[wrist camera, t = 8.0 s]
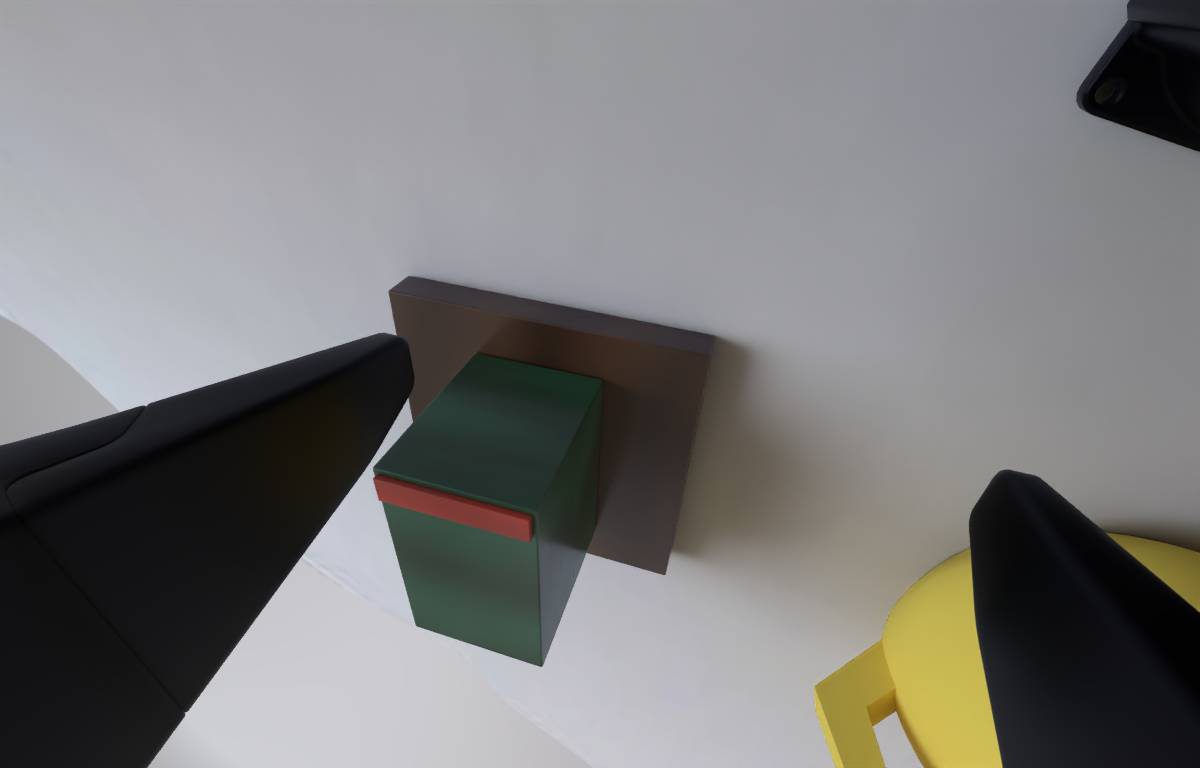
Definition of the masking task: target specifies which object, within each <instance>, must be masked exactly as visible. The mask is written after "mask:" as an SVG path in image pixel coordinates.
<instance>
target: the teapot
mask: <svg viewBox="0 0 1200 768" xmlns="http://www.w3.org/2000/svg"><path fill="white" fill-rule="evenodd" d="M1105 533H1106V532H1105ZM1106 534H1107V535H1109V536H1110V537H1111V538H1112V539H1113V540H1115V541H1116V542H1117V543H1118V544H1119V545H1121V546H1122V547H1123V548H1124V549H1125V550H1126V551H1128V552H1129V553H1130V554H1131V555H1132V556H1134V557H1135V558H1136V559H1137V560H1138V561H1140V562H1141V563H1142V564H1143V565H1144V566H1146V567H1147V568H1148V569H1149V570H1150V571H1151V572H1153V573H1154V574H1155V575H1156V576H1157V577H1159V578H1160V579H1161V580H1162V581H1163V582H1165V583H1166V584H1167V585H1168V586H1169V587H1170V588H1172V589H1173V590H1174V591H1175V592H1176V593H1178V594H1179V595H1180V596H1181V597H1182V598H1184V599H1185V600H1186V601H1187V602H1188V603H1190V604H1191V605H1192V606H1193V607H1194V608H1195V609H1197V610H1198V611H1199V612H1200V553H1199V552H1195V551H1192V550H1189V549H1185V548H1182V547H1178V546H1175V545H1171V544H1167V543H1162V542H1157V541H1153V540H1149V539H1144V538H1139V537H1135V536H1129V535H1122V534H1114V533H1106ZM814 690H815V711H816V714H817V716H818V719H819V722H820V725H821V728H822V731H823V733H824V736H825V739H826V742H827V745H828V748H829V750H830V753H831V756H832V759H833V762H834V765H835V767H836V768H886V767H885V764H884V761H883V758H882V755H881V752H880V749H879V746H878V742H877V739H876V736H875V733H874V730H873V727H872V726H874V725H875V724H877V723H878V722H880V721H881V720H883V719H885V718H886V717H888V716H889V715H891V714H892V713H894V712H895V711H896V712H897V714H898V717H899V719H900V722H901V724H902V727H903V729H904V731H905V734H906V736H907V738H908V740H909V742H910V744H911V745H912V747H913V749H914V751H915V753H916V755H917V757H918V759H919V761H920V762H921V764H922V765H923V767H924V768H1003V767H1002V762H1001V756H1000V751H999V746H998V741H997V736H996V731H995V725H994V720H993V715H992V710H991V705H990V699H989V694H988V689H987V684H986V679H985V674H984V668H983V663H982V658H981V653H980V648H979V642H978V636H977V630H976V622H975V612H974V598H973V582H972V566H971V550H970V548H969V549H967V550H965V551H963V552H960V553H958V554H956V555H954V556H952V557H950V558H949V559H947V560H945V561H944V562H942V563H940V564H939V565H937V566H936V567H935V568H934V569H932V570H930V571H929V572H928V573H927V574H925V575H924V576H923V577H922V578H921V579H919V580H918V581H917V582H916V583H915V584H914V585H912V586H911V587H910V589H909V590H908V591H907V592H906V593H905V594H904V595H903V596H902V597H901V598H900V600H899V601H898V602H897V603H896V604H895V606H894V607H893V609H892V611H891V612H890V614H889V616H888V619H887V622H886V625H885V628H884V631H883V634H882V638H881V640H880V641H879V642H877V643H876V644H875V645H873V646H872V647H870V648H869V649H867V650H866V651H864V652H863V653H862V654H860V655H859V656H857V657H856V658H854V659H853V660H851V661H850V662H849V663H847V664H846V665H844V666H843V667H841V668H840V669H839V670H837V671H836V672H834V673H833V674H831V675H830V676H828V677H827V678H826V679H824V680H823V681H821V682H820V683H818V684H817V685H815V686H814Z"/></svg>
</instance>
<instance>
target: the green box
mask: <svg viewBox="0 0 1200 768" xmlns="http://www.w3.org/2000/svg"><path fill="white" fill-rule="evenodd" d="M603 383H604V381H603V380H602V379H597V378H592V377H588V376H583V375H578V374H573V373H568V372H564V371H559V370H554V369H549V368H545V367H540V366H535V365H530V364H526V363H521V362H516V361H511V360H506V359H502V358H497V357H492V356H487V355H483V354H478V353H475V354H474V355H473V356H472V357H471V358H470V359H469V361H468V362H467V363H466V364H465V365H464V366H463V367H462V368H461V369H460V371H459V372H458V373H457V374H456V375H455V376H454V377H453V378H452V380H451V381H450V382H449V383H448V384H447V385H446V386H445V387H444V389H443V390H442V391H441V392H440V393H439V394H438V395H437V396H436V398H435V399H434V400H433V401H432V402H431V403H430V404H429V405H428V406H427V408H426V409H425V410H424V411H423V412H422V413H421V414H420V415H419V417H418V418H417V419H416V420H415V421H414V422H413V423H412V424H411V426H410V427H409V428H408V429H407V430H406V431H405V432H404V433H403V435H402V436H401V437H400V438H399V439H398V440H397V441H396V442H395V443H394V445H393V446H392V447H391V448H390V449H389V450H388V451H387V452H386V454H385V455H384V456H383V457H382V458H381V459H380V460H379V461H378V463H377V464H376V465H375V466H374V467H373V471H374V474H375V477H374V478H373V481H374V484H375V488H376V491H377V495H378V498H379V501H382V504H383V507H384V511H385V515H386V518H387V522H388V525H389V529H390V533H391V536H392V540H393V544H394V547H395V551H396V555H397V558H398V562H399V566H400V569H401V573H402V577H403V580H404V584H405V587H406V591H407V595H408V598H409V602H410V606H411V609H412V613H413V617H414V620H415V624H416V626H417V627H420V628H424V629H427V630H430V631H433V632H436V633H439V634H442V635H445V636H448V637H451V638H454V639H457V640H460V641H463V642H466V643H469V644H472V645H475V646H478V647H482V648H485V649H488V650H491V651H494V652H497V653H500V654H503V655H506V656H509V657H512V658H515V659H518V660H521V661H524V662H527V663H530V664H533V665H536V666H540V667H542V666H543V664H544V662H545V659H546V656H547V654H548V651H549V649H550V646H551V643H552V641H553V638H554V636H555V633H556V630H557V628H558V625H559V623H560V620H561V617H562V615H563V612H564V610H565V607H566V604H567V602H568V599H569V597H570V594H571V591H572V589H573V586H574V584H575V581H576V578H577V576H578V573H579V571H580V568H581V565H582V563H583V560H584V558H585V555H586V552H587V550H588V547H589V545H590V542H591V539H592V537H593V534H594V532H595V521H596V504H597V487H598V470H599V452H600V435H601V418H602V400H603Z"/></svg>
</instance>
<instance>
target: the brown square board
mask: <svg viewBox="0 0 1200 768" xmlns="http://www.w3.org/2000/svg"><path fill="white" fill-rule="evenodd" d="M389 297H390V302H391V308H392V313H393V318H394V324H395V329H396V334H397V336H401V337H403V338H405V339H406V340H407V342H408V344H409V349H410V354H411V360H412V365H413V371H414V377H415V380H414V387H413V390H412V392H411V394H410V396H409V397H408V398H409V403H410V409H411V414H412V419H413V422H414V421H415V420H416V419H417V418H418V417H419V415H420V414H421V413H422V412H423V411H424V410H425V409H426V408H427V406H428V405H429V404H430V403H431V402H432V401H433V400H434V399H435V398H436V396H437V395H438V394H439V393H440V392H441V391H442V390H443V389H444V387H445V386H446V385H447V384H448V383H449V382H450V381H451V380H452V378H453V377H454V376H455V375H456V374H457V373H458V372H459V371H460V369H461V368H462V367H463V366H464V365H465V364H466V363H467V362H468V361H469V359H470V358H471V357H472V356H473V355H474V354H475V353H478V354H483V355H487V356H492V357H497V358H502V359H506V360H511V361H516V362H521V363H526V364H530V365H535V366H540V367H545V368H549V369H554V370H559V371H564V372H568V373H573V374H578V375H583V376H588V377H592V378H597V379H602V380H603V381H604V383H603V400H602V418H601V435H600V452H599V470H598V487H597V504H596V521H595V532H594V534H593V537H592V539H591V542H590V545H589V547H588V550H587V552H586V553H589V554H592V555H596V556H599V557H603V558H606V559H610V560H613V561H617V562H620V563H624V564H627V565H631V566H634V567H638V568H641V569H645V570H648V571H652V572H655V573H659V574H662V575H665V574H666V570H667V566H668V562H669V558H670V554H671V549H672V544H673V539H674V535H675V530H676V525H677V520H678V515H679V511H680V506H681V501H682V496H683V491H684V487H685V482H686V477H687V472H688V467H689V463H690V458H691V453H692V448H693V443H694V438H695V434H696V429H697V424H698V419H699V414H700V410H701V405H702V400H703V395H704V390H705V386H706V381H707V376H708V371H709V366H710V362H711V357H712V352H713V347H714V342H715V336H711V335H706V334H701V333H696V332H691V331H686V330H680V329H675V328H670V327H665V326H660V325H655V324H650V323H645V322H640V321H635V320H630V319H624V318H619V317H614V316H609V315H604V314H599V313H594V312H589V311H584V310H579V309H573V308H568V307H563V306H558V305H553V304H548V303H543V302H538V301H533V300H528V299H523V298H517V297H512V296H507V295H502V294H497V293H492V292H487V291H482V290H477V289H472V288H466V287H461V286H456V285H451V284H446V283H441V282H436V281H431V280H426V279H421V278H416V277H410V276H408V277H407V278H405V279H404V280H402V281H401V282H400V283H398V284H397V285H396V286H394V287H393V288H392V289H390V290H389Z"/></svg>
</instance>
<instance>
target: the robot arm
mask: <svg viewBox="0 0 1200 768" xmlns="http://www.w3.org/2000/svg"><path fill="white" fill-rule="evenodd" d="M1127 17H1128V19H1129V20H1128V21H1127V23H1126V24H1125V25H1124V27H1123V28H1122V30H1121V31H1120V32H1119V34H1118V35H1117V36H1116V38H1115V39H1114V40H1113V42H1112V43H1111V45H1110V46H1109V47H1108V49H1107V50H1106V51H1105V53H1104V54H1103V55H1102V57H1101V58H1100V60H1099V61H1098V62H1097V64H1096V65H1095V66H1094V68H1093V69H1092V71H1091V72H1090V73H1089V75H1088V76H1087V77H1086V79H1085V80H1084V81H1083V83H1082V84H1081V86H1080V88H1079V90H1078V92H1077V99H1076V101H1077V103H1078V106H1079V108H1081V109H1082V110H1084V111H1085V112H1087V113H1089V114H1092V115H1094V116H1097V117H1100V118H1103V119H1106V120H1109V121H1112V122H1115V123H1118V124H1120V125H1123V126H1126V127H1129V128H1132V129H1135V130H1138V131H1141V132H1144V133H1146V134H1149V135H1152V136H1155V137H1158V138H1161V139H1164V140H1167V141H1170V142H1173V143H1175V144H1178V145H1181V146H1184V147H1187V148H1190V149H1193V150H1196V151H1199V152H1200V0H1130V1H1129V3H1128V4H1127ZM1110 81H1113V82H1114V86H1115V89H1114V91H1113V93H1112V95H1110V96H1109V97H1108V98H1107V99H1106V100H1103V101H1101V102H1096V101H1095V94H1096V92H1097V90H1098V89H1099V88H1100V87H1101V86H1102V85H1103V84H1105V83H1108V82H1110ZM414 380H415V377H414V371H413V365H412V360H411V354H410V349H409V344H408V342H407V340H406V339H405V338H403V337H401V336H397V335H392V334H388V333H378V334H375V335H372V336H368V337H365V338H362V339H359V340H355V341H352V342H349V343H345V344H342V345H339V346H336V347H332V348H329V349H326V350H323V351H319V352H316V353H313V354H309V355H306V356H303V357H300V358H296V359H293V360H290V361H287V362H283V363H280V364H277V365H273V366H270V367H267V368H264V369H260V370H257V371H254V372H251V373H247V374H244V375H241V376H238V377H234V378H231V379H228V380H224V381H221V382H218V383H215V384H211V385H208V386H205V387H202V388H198V389H195V390H192V391H188V392H185V393H182V394H179V395H175V396H172V397H169V398H166V399H162V400H159V401H156V402H152V403H150V404H148V405H147V407H146V406H139V407H136V408H132V409H129V410H126V411H123V412H119V413H116V414H113V415H109V416H106V417H103V418H99V419H96V420H92V421H89V422H86V423H82V424H79V425H75V426H72V427H69V428H65V429H61V430H57V431H54V432H50V433H46V434H42V435H39V436H35V437H31V438H27V439H24V440H20V441H17V442H13V443H9V444H5V445H1V446H0V768H147V767H148V766H149V765H150V763H151V761H152V760H153V759H154V758H155V756H156V755H157V754H158V752H159V751H160V750H161V748H162V747H163V745H164V744H165V743H166V741H167V740H168V739H169V737H170V736H171V735H172V733H173V731H174V730H175V729H176V728H177V726H178V725H179V724H180V722H181V721H182V719H183V718H184V717H185V712H187V711H189V709H190V708H191V707H192V705H193V704H194V703H195V701H196V700H197V699H198V697H199V696H200V694H201V693H202V692H203V690H204V689H205V688H206V686H207V685H208V684H209V682H210V681H211V679H212V678H213V677H214V675H215V674H216V673H217V671H218V670H219V669H220V667H221V666H222V664H223V663H224V662H225V660H226V659H227V657H228V656H229V655H230V653H231V652H232V651H233V649H234V648H235V647H236V645H237V644H238V642H239V641H240V640H241V638H242V637H243V636H244V634H245V633H246V632H247V630H248V629H249V628H250V626H251V625H252V623H253V622H254V621H255V619H256V618H257V617H258V615H259V614H260V613H261V611H262V610H263V608H264V607H265V606H266V604H267V603H268V602H269V600H270V599H271V598H272V596H273V595H274V593H275V592H276V591H277V589H278V588H279V587H280V585H281V584H282V582H283V581H284V580H285V578H286V577H287V575H288V574H289V573H290V571H291V570H292V569H293V567H294V566H295V565H296V563H297V562H298V561H299V559H300V558H301V557H302V555H303V554H304V553H305V551H306V550H307V548H308V547H309V546H310V544H311V543H312V542H313V540H314V539H315V538H316V536H317V535H318V533H319V532H320V531H321V529H322V528H323V527H324V525H325V524H326V523H327V521H328V520H329V518H330V517H331V516H332V514H333V513H334V512H335V510H336V509H337V508H338V506H339V505H340V503H341V502H342V501H343V499H344V498H345V497H346V495H347V494H348V493H349V491H350V490H351V488H352V487H353V486H354V484H355V483H356V482H357V480H358V479H359V478H360V476H361V475H362V473H363V472H364V471H365V469H366V468H367V466H368V465H369V463H370V462H371V460H372V459H373V457H374V456H375V454H376V452H377V451H378V449H379V447H380V446H381V444H382V442H383V440H384V439H385V437H386V435H387V434H388V432H389V430H390V428H391V427H392V425H393V423H394V421H395V420H396V418H397V416H398V415H399V413H400V411H401V409H402V408H403V406H404V404H405V402H406V401H407V399H408V397H409V396H410V394H411V392H412V390H413V387H414ZM969 535H970V550H971V566H972V582H973V598H974V612H975V622H976V630H977V636H978V642H979V648H980V653H981V658H982V663H983V668H984V674H985V679H986V684H987V689H988V694H989V699H990V705H991V710H992V715H993V720H994V725H995V731H996V736H997V741H998V746H999V751H1000V756H1001V762H1002V767H1003V768H1200V612H1199V611H1198V610H1197V609H1195V608H1194V607H1193V606H1192V605H1191V604H1190V603H1188V602H1187V601H1186V600H1185V599H1184V598H1182V597H1181V596H1180V595H1179V594H1178V593H1176V592H1175V591H1174V590H1173V589H1172V588H1170V587H1169V586H1168V585H1167V584H1166V583H1165V582H1163V581H1162V580H1161V579H1160V578H1159V577H1157V576H1156V575H1155V574H1154V573H1153V572H1151V571H1150V570H1149V569H1148V568H1147V567H1146V566H1144V565H1143V564H1142V563H1141V562H1140V561H1138V560H1137V559H1136V558H1135V557H1134V556H1132V555H1131V554H1130V553H1129V552H1128V551H1126V550H1125V549H1124V548H1123V547H1122V546H1121V545H1119V544H1118V543H1117V542H1116V541H1115V540H1113V539H1112V538H1111V537H1110V536H1109V535H1107V534H1106V533H1105V532H1104V531H1103V530H1102V529H1100V528H1099V527H1098V526H1097V525H1096V524H1094V523H1093V522H1092V521H1091V520H1090V519H1088V518H1087V517H1086V516H1085V515H1084V514H1082V513H1081V512H1080V511H1079V510H1078V509H1077V508H1075V507H1074V506H1073V505H1072V504H1071V503H1069V502H1068V501H1067V500H1066V499H1065V498H1063V497H1062V496H1061V495H1060V494H1059V493H1058V492H1056V491H1055V490H1054V489H1053V488H1052V487H1050V486H1049V485H1048V484H1047V483H1046V482H1044V481H1043V480H1042V479H1041V478H1039V477H1037V476H1035V475H1031V474H1026V473H1022V472H1017V471H1012V470H1002V471H1000V472H998V473H997V474H996V475H995V476H994V478H993V479H992V481H991V482H990V484H989V485H988V487H987V488H986V490H985V491H984V493H983V494H982V496H981V497H980V499H979V500H978V502H977V503H976V505H975V506H974V508H973V510H972V512H971V515H970V519H969Z"/></svg>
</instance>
